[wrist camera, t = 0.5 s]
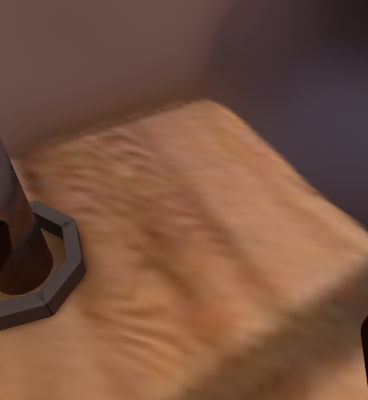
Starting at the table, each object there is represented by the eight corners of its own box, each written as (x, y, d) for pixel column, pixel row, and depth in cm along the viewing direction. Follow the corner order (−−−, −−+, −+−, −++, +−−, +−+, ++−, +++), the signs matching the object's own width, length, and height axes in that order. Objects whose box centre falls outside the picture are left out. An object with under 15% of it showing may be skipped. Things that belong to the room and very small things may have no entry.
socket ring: (25, 350, 21) (16, 341, 20) (-74, 288, 23) (-90, 275, 22) (105, 246, 27) (103, 233, 25) (18, 203, 28) (11, 187, 27)
